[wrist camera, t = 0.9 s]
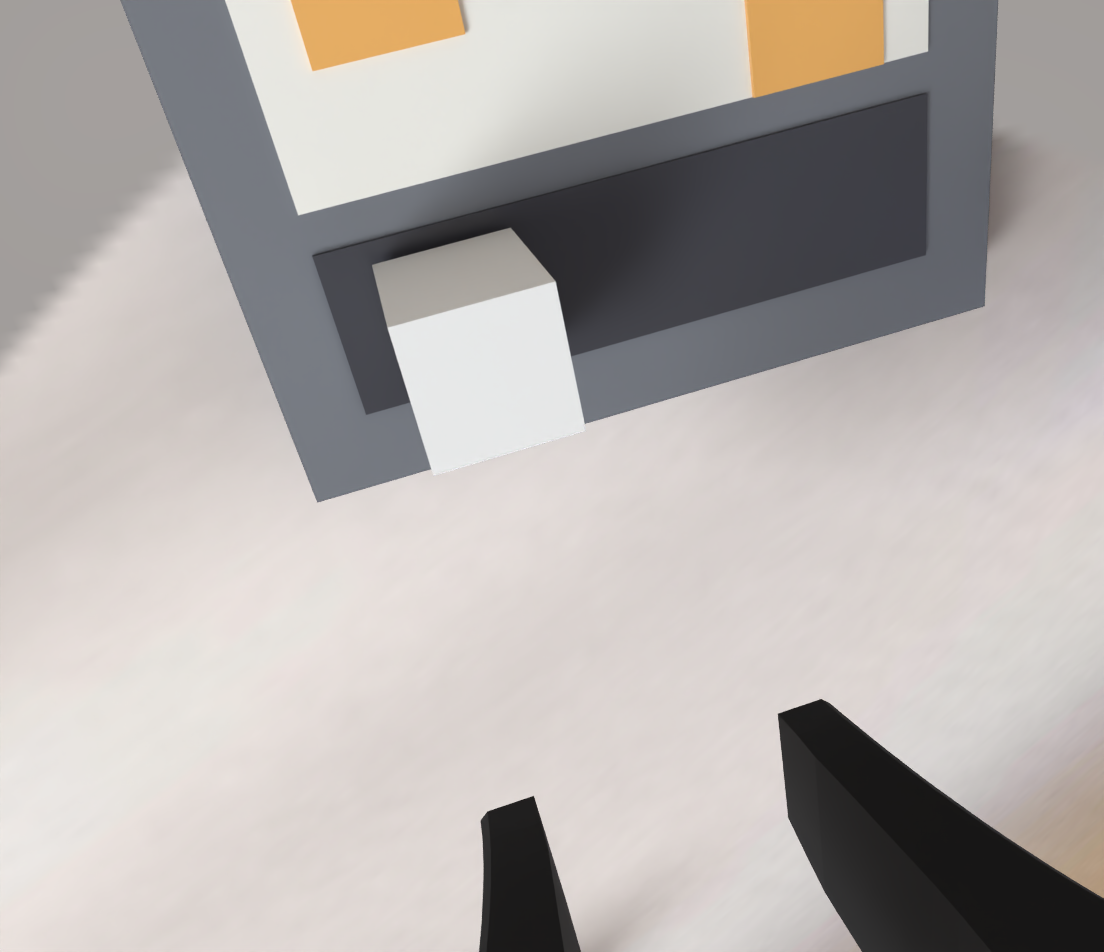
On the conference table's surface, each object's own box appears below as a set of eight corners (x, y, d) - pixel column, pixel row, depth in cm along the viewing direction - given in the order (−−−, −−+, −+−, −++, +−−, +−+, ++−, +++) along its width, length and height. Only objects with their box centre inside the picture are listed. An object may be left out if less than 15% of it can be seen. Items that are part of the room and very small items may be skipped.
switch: (510, 227, 16) (555, 280, 13) (539, 356, 17) (586, 430, 14) (371, 265, 15) (387, 328, 13) (411, 393, 17) (433, 476, 14)
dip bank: (958, -641, 13) (1040, -717, 12) (941, 285, 20) (991, 309, 19) (-42, -467, 12) (-91, -530, 10) (316, 466, 19) (317, 507, 17)
